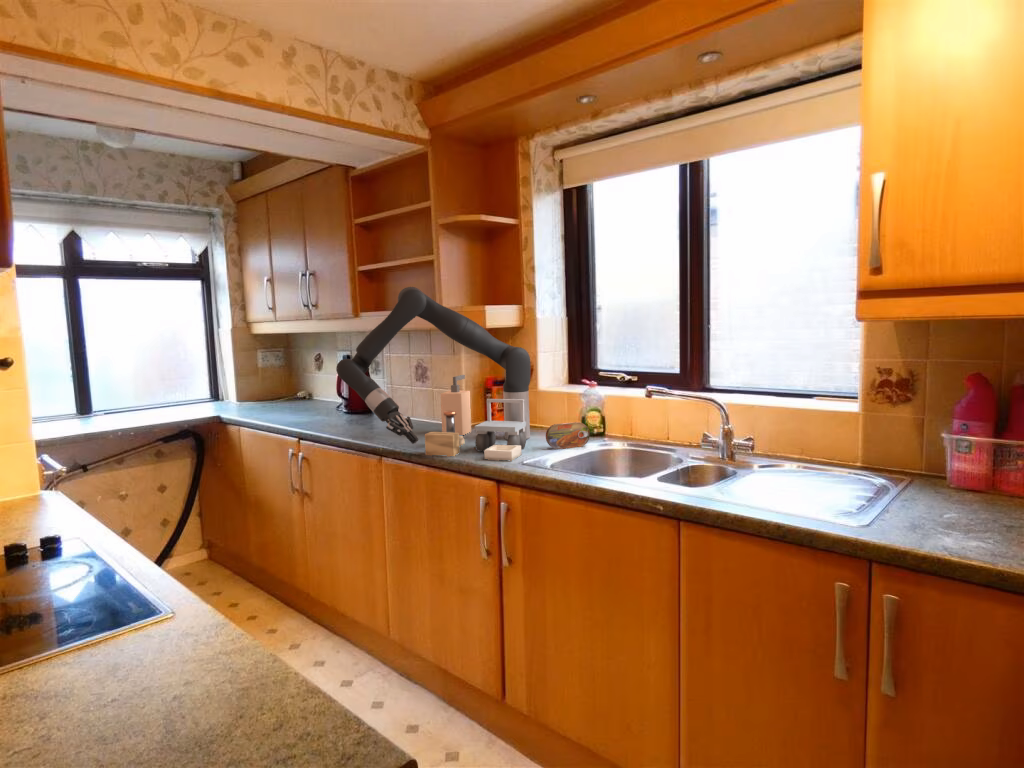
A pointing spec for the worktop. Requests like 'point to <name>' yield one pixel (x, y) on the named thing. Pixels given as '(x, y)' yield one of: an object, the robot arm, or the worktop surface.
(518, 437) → the trolley
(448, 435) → the block
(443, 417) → the soap dispenser
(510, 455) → the tray
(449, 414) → the pin
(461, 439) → the pin block
